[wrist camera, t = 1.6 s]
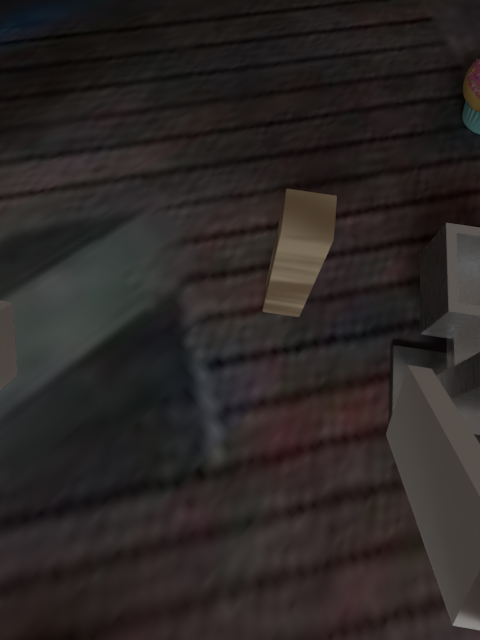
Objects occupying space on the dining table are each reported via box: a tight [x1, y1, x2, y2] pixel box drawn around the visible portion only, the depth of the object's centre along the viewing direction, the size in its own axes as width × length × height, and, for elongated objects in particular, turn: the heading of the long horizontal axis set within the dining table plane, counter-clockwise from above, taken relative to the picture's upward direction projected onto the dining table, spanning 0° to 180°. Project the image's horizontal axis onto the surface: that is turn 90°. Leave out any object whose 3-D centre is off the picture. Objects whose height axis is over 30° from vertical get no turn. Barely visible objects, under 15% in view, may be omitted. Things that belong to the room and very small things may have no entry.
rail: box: [263, 189, 337, 317], centre depth 37 cm, size 4×4×14 cm
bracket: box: [389, 223, 480, 437], centre depth 37 cm, size 14×9×12 cm, turn 172°
